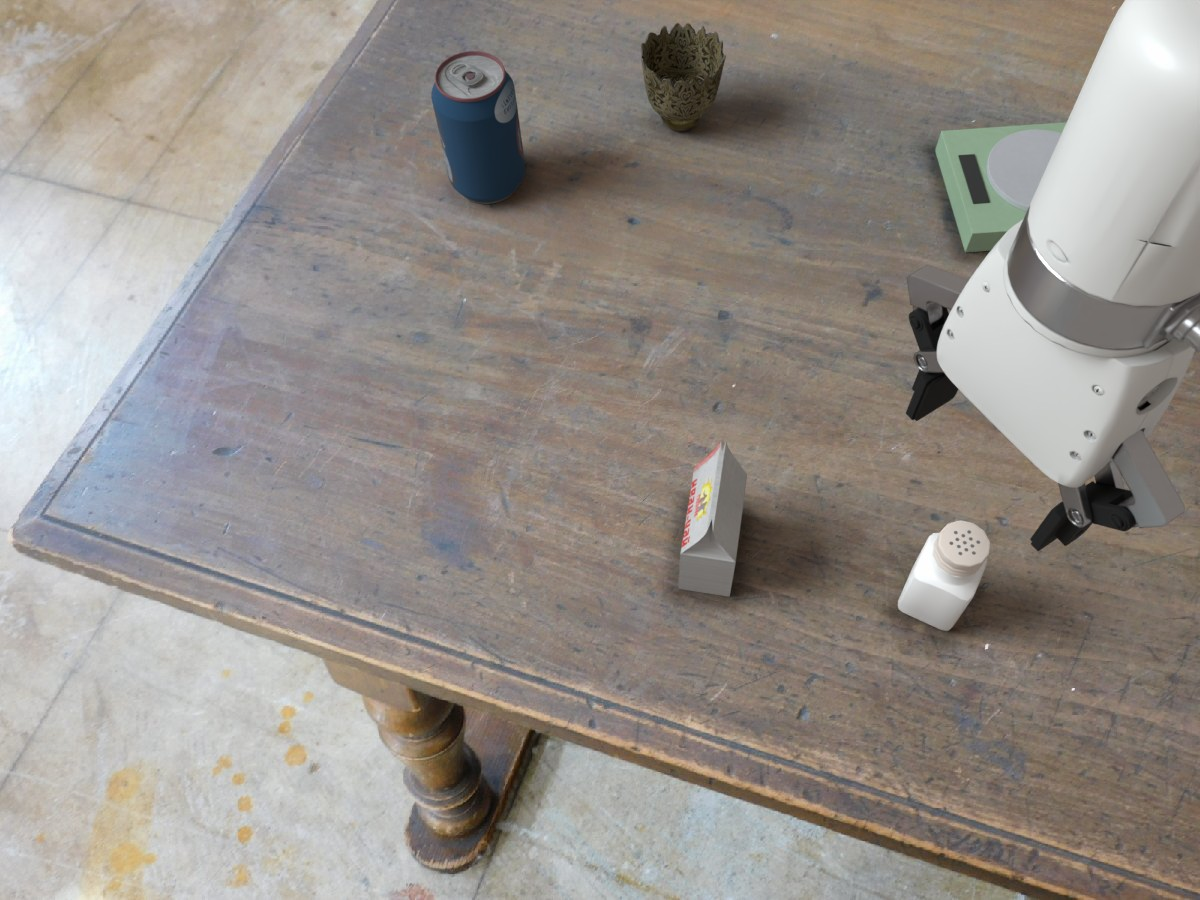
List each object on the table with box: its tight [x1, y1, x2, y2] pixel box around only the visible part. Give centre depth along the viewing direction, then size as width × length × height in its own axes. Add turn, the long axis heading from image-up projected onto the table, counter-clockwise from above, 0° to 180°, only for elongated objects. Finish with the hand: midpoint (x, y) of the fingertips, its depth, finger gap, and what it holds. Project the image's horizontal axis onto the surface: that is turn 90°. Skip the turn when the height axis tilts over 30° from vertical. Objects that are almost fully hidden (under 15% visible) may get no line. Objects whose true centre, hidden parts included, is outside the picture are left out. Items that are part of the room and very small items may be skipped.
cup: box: [640, 22, 727, 132], centre depth 97 cm, size 8×7×8 cm
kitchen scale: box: [934, 121, 1067, 253], centre depth 93 cm, size 13×12×3 cm
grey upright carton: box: [677, 440, 748, 598], centre depth 74 cm, size 4×7×10 cm, turn 169°
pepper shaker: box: [897, 519, 991, 632], centre depth 72 cm, size 4×4×10 cm
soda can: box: [430, 50, 526, 205], centre depth 92 cm, size 7×7×12 cm
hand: (989, 467), depth 59 cm, fingers open, 9 cm apart
